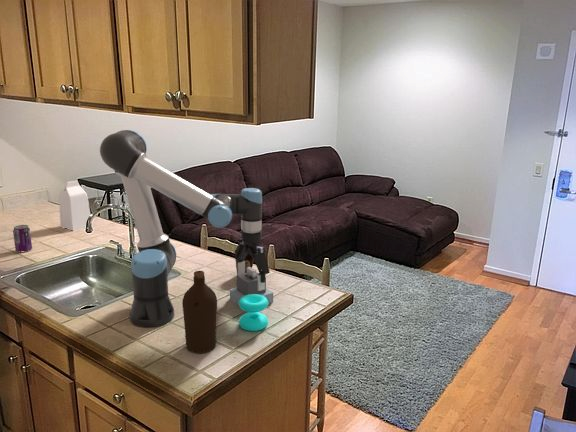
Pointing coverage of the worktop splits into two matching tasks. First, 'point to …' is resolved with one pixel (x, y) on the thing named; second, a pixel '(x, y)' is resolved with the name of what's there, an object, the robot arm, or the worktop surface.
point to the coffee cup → (246, 262)
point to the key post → (251, 273)
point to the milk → (73, 206)
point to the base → (237, 295)
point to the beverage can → (22, 238)
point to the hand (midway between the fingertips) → (251, 283)
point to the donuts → (253, 312)
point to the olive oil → (200, 316)
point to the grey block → (248, 285)
